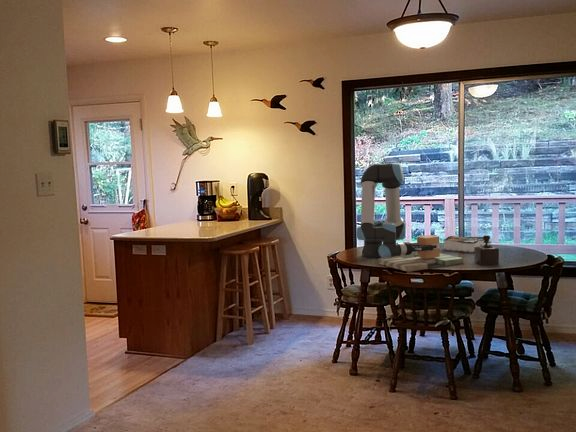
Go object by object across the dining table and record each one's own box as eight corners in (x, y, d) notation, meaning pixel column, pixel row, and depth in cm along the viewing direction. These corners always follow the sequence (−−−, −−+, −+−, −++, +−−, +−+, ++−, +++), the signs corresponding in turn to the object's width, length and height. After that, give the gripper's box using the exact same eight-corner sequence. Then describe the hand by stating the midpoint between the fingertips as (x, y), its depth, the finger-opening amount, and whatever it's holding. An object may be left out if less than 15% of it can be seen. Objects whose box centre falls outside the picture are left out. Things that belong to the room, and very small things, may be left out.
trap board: (378, 264, 333) (378, 259, 333) (431, 256, 350) (431, 251, 350) (408, 271, 308) (408, 266, 307) (463, 263, 325) (463, 258, 325)
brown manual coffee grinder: (472, 262, 326) (472, 232, 324) (490, 261, 327) (490, 230, 325) (484, 267, 311) (484, 235, 309) (503, 266, 312) (503, 234, 310)
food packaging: (439, 239, 370) (453, 235, 387) (439, 250, 371) (453, 245, 388) (476, 242, 354) (489, 237, 371) (476, 253, 355) (489, 248, 372)
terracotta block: (417, 256, 330) (417, 236, 329) (430, 254, 334) (430, 235, 333) (426, 258, 323) (425, 238, 322) (439, 256, 327) (439, 236, 326)
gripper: (392, 252, 330) (423, 248, 340) (415, 257, 311) (446, 253, 321) (392, 240, 329) (423, 236, 339) (414, 244, 311) (446, 240, 320)
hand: (434, 244), depth 330 cm, fingers closed on terracotta block, 8 cm apart
